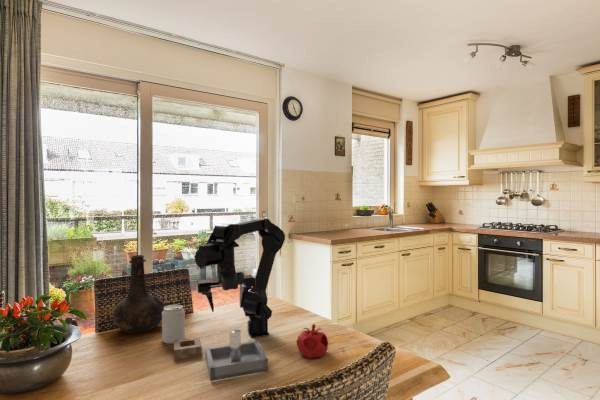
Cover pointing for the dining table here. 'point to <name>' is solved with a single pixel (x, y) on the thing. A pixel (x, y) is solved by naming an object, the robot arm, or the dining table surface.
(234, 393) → the dining table surface
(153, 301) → the brown vase
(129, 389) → the dining table surface
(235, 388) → the dining table surface
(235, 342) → the pin
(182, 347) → the socket block
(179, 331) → the can
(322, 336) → the pomegranate
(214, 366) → the tray
